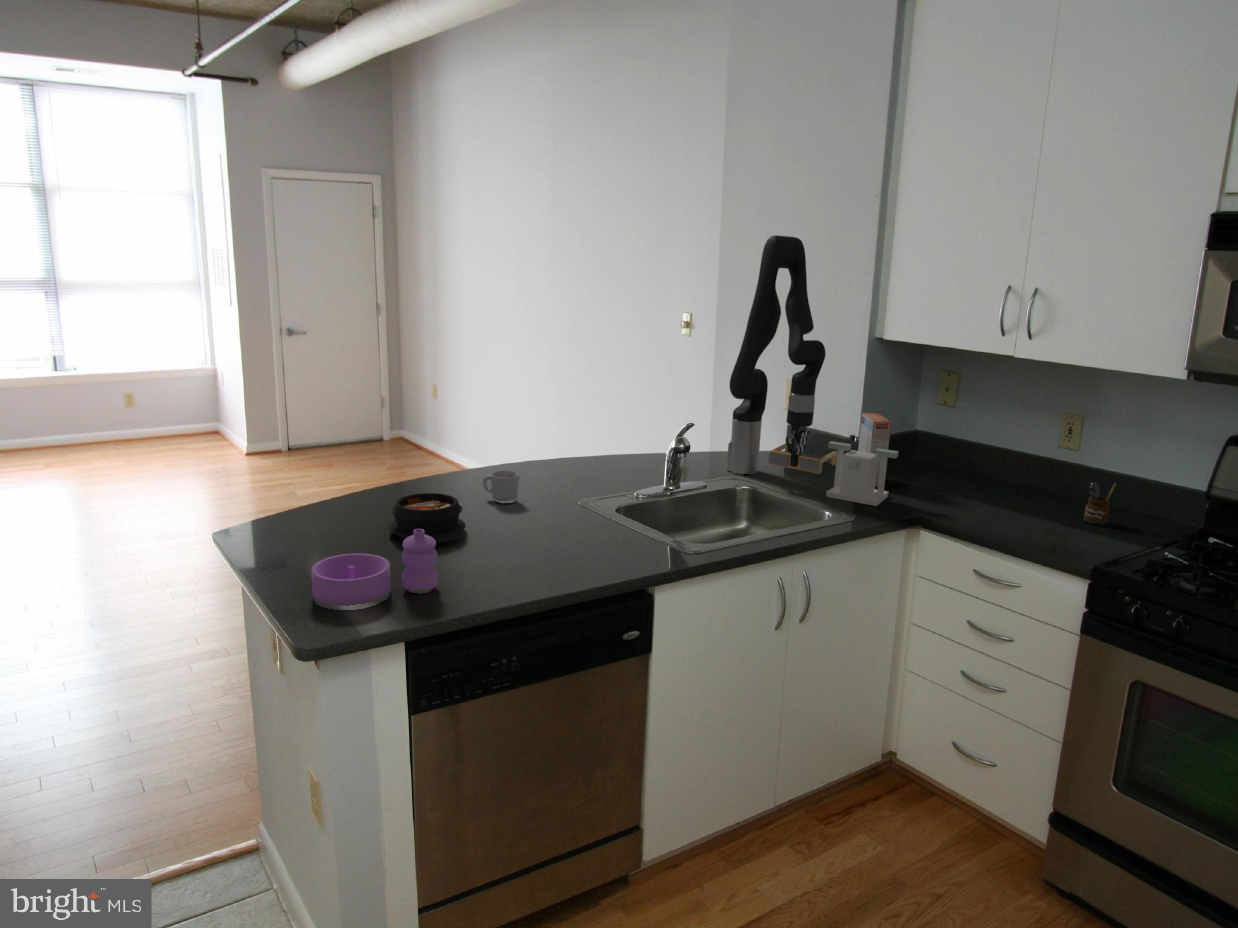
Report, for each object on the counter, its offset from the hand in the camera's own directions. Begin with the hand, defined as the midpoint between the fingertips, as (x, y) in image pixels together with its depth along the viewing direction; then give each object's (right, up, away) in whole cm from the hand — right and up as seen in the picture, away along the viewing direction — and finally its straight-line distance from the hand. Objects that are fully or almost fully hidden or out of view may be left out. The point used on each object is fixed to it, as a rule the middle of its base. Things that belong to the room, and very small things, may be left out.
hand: (794, 465), depth 265 cm
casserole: (-100, -17, -45) cm, 111 cm away
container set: (-102, -27, -81) cm, 133 cm away
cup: (-85, -10, -17) cm, 88 cm away
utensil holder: (+80, -16, -18) cm, 83 cm away
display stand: (+18, -10, -2) cm, 20 cm away
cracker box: (+27, -5, +16) cm, 31 cm away
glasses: (+3, 0, +5) cm, 6 cm away
